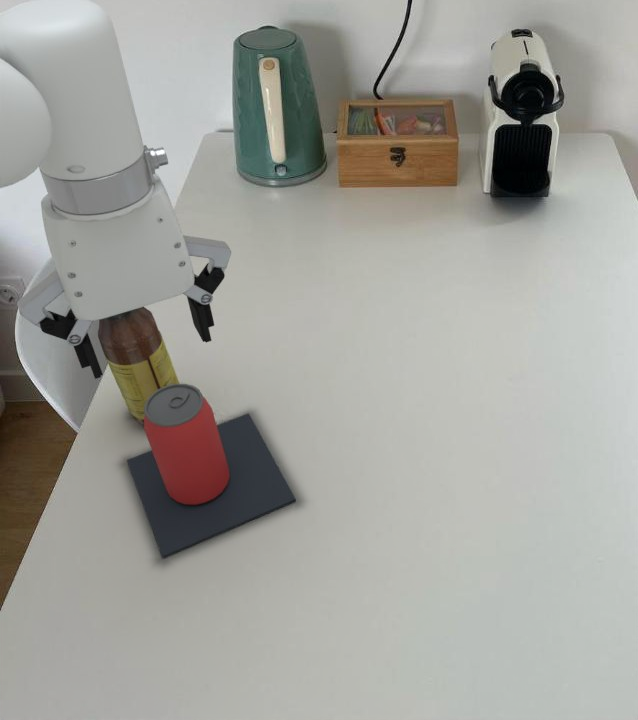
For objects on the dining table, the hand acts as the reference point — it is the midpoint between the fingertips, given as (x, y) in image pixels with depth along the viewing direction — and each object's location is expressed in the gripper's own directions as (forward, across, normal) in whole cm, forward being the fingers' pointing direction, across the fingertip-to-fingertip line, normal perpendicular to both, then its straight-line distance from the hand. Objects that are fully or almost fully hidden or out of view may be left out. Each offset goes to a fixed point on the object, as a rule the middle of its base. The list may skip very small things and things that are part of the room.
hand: (150, 350), depth 72 cm
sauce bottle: (+20, 0, -13) cm, 24 cm away
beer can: (+19, -1, 0) cm, 19 cm away
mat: (+19, -2, 0) cm, 20 cm away
